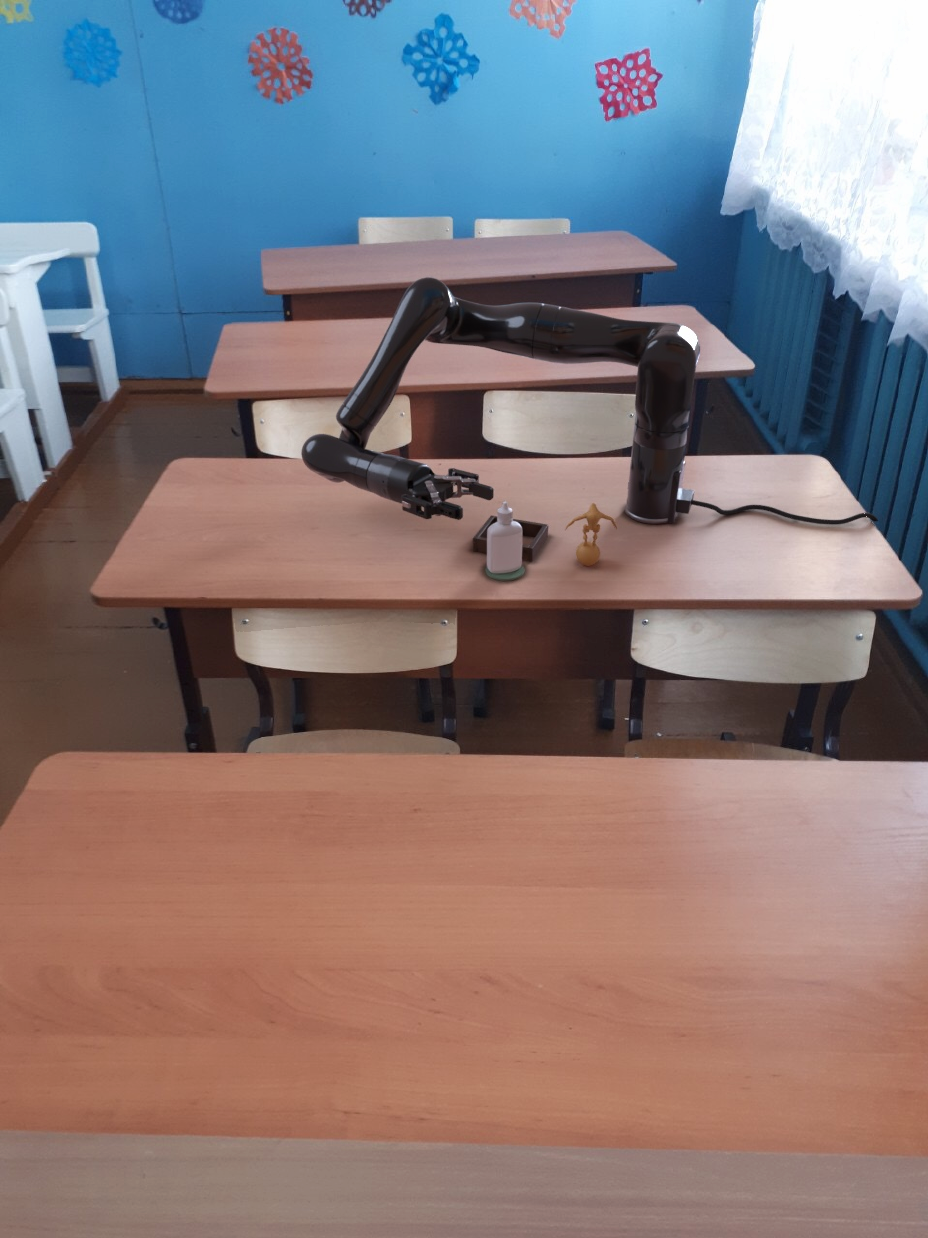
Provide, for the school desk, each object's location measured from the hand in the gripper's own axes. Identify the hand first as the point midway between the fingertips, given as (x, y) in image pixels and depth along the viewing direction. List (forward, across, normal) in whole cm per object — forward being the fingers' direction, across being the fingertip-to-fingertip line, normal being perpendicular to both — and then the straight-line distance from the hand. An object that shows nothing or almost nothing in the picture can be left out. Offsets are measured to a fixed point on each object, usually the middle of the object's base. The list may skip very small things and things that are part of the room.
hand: (477, 503), depth 141 cm
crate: (+1, +8, +10) cm, 13 cm away
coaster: (+6, 0, +10) cm, 12 cm away
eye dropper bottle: (+6, 0, +10) cm, 12 cm away
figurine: (+16, +8, +11) cm, 21 cm away
